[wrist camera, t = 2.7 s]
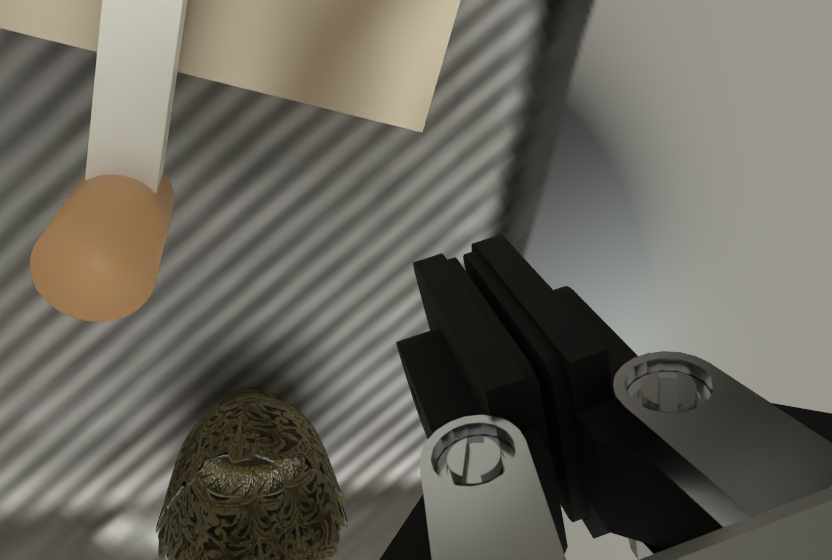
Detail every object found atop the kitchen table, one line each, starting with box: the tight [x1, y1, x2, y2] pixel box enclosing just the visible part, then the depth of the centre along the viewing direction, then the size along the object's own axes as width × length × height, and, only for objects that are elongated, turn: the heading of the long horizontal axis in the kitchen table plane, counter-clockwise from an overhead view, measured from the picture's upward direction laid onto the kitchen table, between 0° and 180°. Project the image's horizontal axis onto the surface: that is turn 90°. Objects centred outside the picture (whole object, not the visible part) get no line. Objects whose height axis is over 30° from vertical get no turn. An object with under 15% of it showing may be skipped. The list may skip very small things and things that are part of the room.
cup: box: [156, 389, 348, 560], centre depth 29 cm, size 8×7×8 cm
